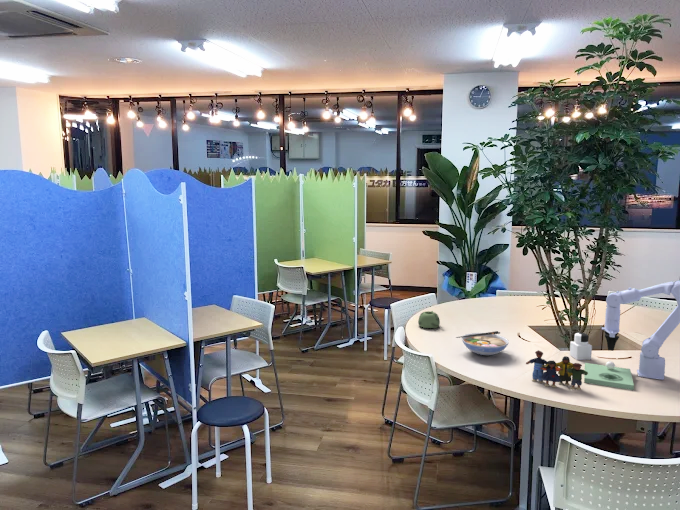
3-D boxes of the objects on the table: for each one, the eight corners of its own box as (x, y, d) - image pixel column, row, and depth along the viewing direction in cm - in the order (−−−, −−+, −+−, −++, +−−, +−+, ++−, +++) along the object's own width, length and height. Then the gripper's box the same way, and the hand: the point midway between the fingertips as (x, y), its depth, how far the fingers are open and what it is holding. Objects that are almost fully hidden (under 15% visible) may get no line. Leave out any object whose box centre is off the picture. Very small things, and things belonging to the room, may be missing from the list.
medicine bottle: (583, 354, 240) (585, 331, 238) (591, 359, 233) (593, 335, 231) (569, 355, 240) (570, 331, 238) (576, 360, 233) (578, 336, 231)
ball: (614, 368, 216) (614, 360, 216) (614, 371, 213) (615, 363, 213) (605, 367, 218) (605, 359, 217) (605, 369, 215) (606, 362, 214)
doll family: (527, 385, 204) (528, 355, 202) (524, 377, 212) (526, 348, 210) (587, 391, 198) (589, 359, 196) (582, 382, 206) (584, 352, 205)
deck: (629, 373, 216) (630, 369, 216) (633, 390, 198) (633, 385, 198) (584, 366, 224) (584, 362, 224) (584, 382, 206) (584, 378, 206)
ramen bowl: (474, 364, 229) (474, 347, 228) (450, 348, 251) (451, 333, 250) (520, 358, 236) (520, 342, 235) (493, 344, 257) (493, 329, 256)
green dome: (437, 330, 283) (437, 316, 282) (415, 328, 288) (415, 314, 287) (442, 323, 297) (443, 309, 296) (422, 321, 302) (422, 307, 301)
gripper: (602, 314, 227) (600, 342, 229) (602, 322, 214) (600, 352, 216) (619, 316, 224) (617, 344, 226) (621, 324, 211) (619, 354, 213)
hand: (610, 348), depth 221 cm, fingers open, 5 cm apart
